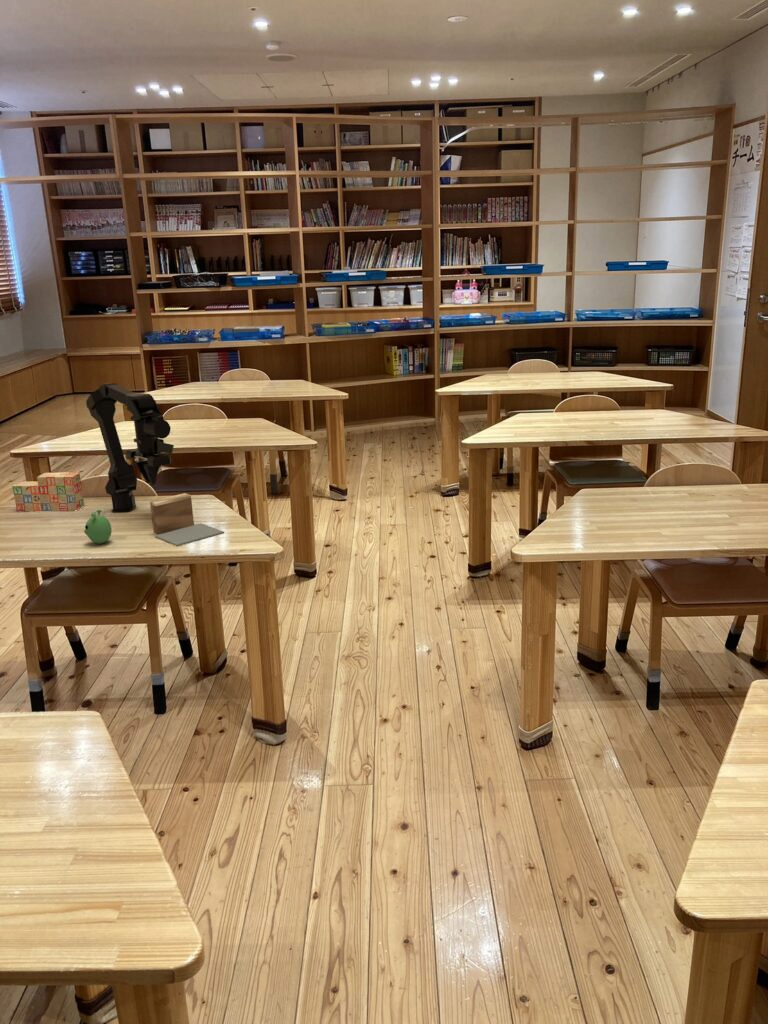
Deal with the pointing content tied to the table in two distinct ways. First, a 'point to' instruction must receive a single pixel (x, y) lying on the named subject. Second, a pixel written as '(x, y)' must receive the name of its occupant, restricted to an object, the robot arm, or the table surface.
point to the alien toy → (98, 528)
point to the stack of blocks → (50, 493)
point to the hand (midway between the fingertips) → (151, 483)
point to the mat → (189, 534)
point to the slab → (172, 513)
